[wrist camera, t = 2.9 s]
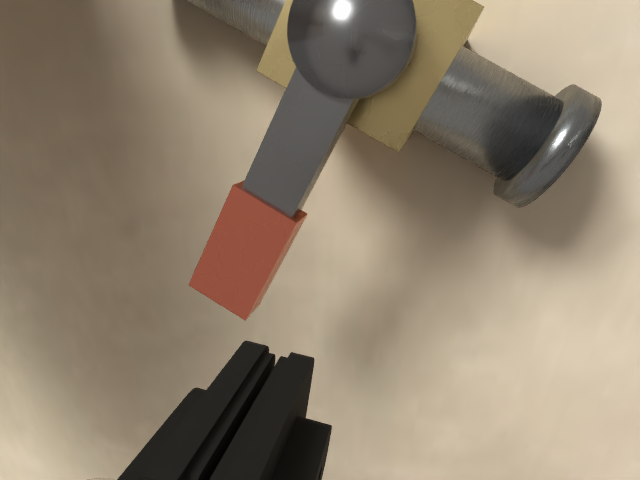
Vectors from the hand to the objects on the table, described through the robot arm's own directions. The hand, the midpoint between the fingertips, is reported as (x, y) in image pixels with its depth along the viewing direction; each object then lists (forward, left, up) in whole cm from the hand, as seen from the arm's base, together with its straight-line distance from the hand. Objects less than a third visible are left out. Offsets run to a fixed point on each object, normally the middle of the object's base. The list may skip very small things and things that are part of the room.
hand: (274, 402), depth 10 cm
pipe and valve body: (+6, -8, -18) cm, 21 cm away
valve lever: (+4, -3, -9) cm, 11 cm away
